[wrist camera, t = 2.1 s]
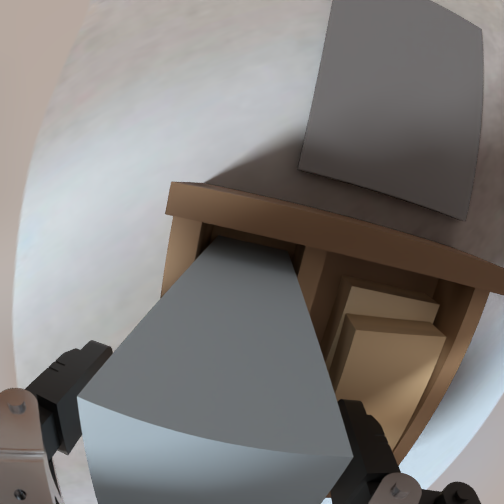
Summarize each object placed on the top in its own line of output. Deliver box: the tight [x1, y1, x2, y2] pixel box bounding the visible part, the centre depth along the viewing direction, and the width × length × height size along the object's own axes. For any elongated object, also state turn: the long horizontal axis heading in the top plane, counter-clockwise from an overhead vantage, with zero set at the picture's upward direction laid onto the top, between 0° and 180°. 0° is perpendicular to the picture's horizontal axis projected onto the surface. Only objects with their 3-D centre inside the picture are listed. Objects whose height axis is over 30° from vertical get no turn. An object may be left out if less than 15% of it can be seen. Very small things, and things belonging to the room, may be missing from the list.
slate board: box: [77, 235, 353, 504], centre depth 9 cm, size 9×3×11 cm, turn 167°
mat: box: [297, 0, 483, 221], centre depth 12 cm, size 12×9×1 cm
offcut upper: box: [328, 313, 446, 451], centre depth 12 cm, size 7×4×2 cm, turn 171°
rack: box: [160, 182, 504, 498], centre depth 13 cm, size 13×13×5 cm
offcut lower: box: [320, 275, 440, 373], centre depth 14 cm, size 8×4×2 cm, turn 167°
